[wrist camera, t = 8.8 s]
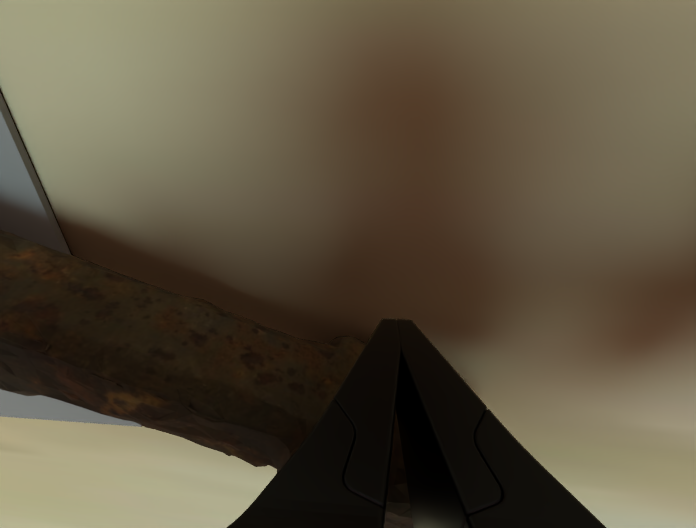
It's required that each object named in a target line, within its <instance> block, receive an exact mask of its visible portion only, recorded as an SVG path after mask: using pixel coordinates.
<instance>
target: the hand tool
mask: <svg viewBox="0 0 696 528" xmlns="http://www.w3.org/2000/svg"><path fill="white" fill-rule="evenodd" d="M365 346H366V344H365V343H363V342H361V341H360V340H358V339H357V338H354V337H350V336H346V337H338V338H335V339H334V340H333V341H331V342H330V343H329V344H321V343H318V342H313V341H308V340H303V339H298V338H294V337H292V336H290V335H287V334H285V333H282V332H279V331H276V330H272V329H269V328H266V327H264V326H262V325H260V324H258V323H256V322H254V321H252V320H249V319H247V318H244V317H241V316H238V315H235V314H232V313H229V312H226V311H224V310H222V309H220V308H218V307H216V306H214V305H212V304H211V303H209V302H207V301H205V300H203V299H197V298H190V297H184V296H181V295H177V294H173V293H171V292H168V291H166V290H163V289H161V288H158V287H155V286H152V285H149V284H146V283H144V282H141V281H138V280H136V279H133V278H129V277H126V276H124V275H121V274H119V273H116V272H114V271H111V270H109V269H106V268H104V267H102V266H99V265H96V264H93V263H90V262H88V261H85V260H82V259H80V258H77V257H75V256H72V255H69V254H66V253H62V252H59V251H56V250H54V249H51V248H48V247H46V246H43V245H41V244H38V243H35V242H33V241H30V240H28V239H25V238H22V237H19V236H17V235H15V234H13V233H10V232H7V231H4V230H1V229H0V389H1V390H5V391H9V392H13V393H17V394H21V395H25V396H36V395H42V396H46V397H50V398H54V399H57V400H60V401H63V402H66V403H70V404H73V405H76V406H79V407H82V408H85V409H88V410H91V411H94V412H97V413H100V414H103V415H106V416H110V417H114V418H118V419H122V420H126V421H132V422H136V423H138V424H140V425H142V426H145V427H147V428H152V429H156V430H159V431H163V432H166V433H169V434H173V435H176V436H180V437H183V438H185V439H187V440H190V441H192V442H194V443H197V444H199V445H202V446H205V447H208V448H211V449H214V450H217V451H220V452H223V453H225V454H226V455H228V456H231V455H232V456H236V457H238V458H240V459H242V460H244V461H246V462H248V463H250V464H251V465H253V466H255V467H260V466H267V465H270V466H272V467H274V468H276V469H277V473H278V472H279V471H280V469H281V468H282V467H283V466H284V465H285V463H286V462H287V461H288V460H289V458H290V457H291V456H292V455H293V454H294V452H295V451H296V450H297V449H298V447H299V446H300V445H301V444H302V442H303V441H304V440H305V438H306V437H307V436H308V435H309V433H310V432H311V431H312V429H313V428H314V426H315V425H316V423H317V422H318V420H319V419H320V417H321V416H322V415H323V413H324V412H325V410H326V408H327V407H328V405H329V403H330V402H331V400H333V397H334V396H335V394H336V392H337V391H338V389H339V388H340V386H341V384H342V383H343V381H344V379H345V378H346V376H347V375H348V373H349V371H350V370H351V368H352V367H353V365H354V363H355V362H356V360H357V358H358V357H359V355H360V354H361V352H362V350H363V349H364V347H365ZM384 528H414V526H413V520H412V513H411V506H410V500H409V493H408V487H407V480H406V473H405V467H404V460H403V453H402V447H401V440H400V433H399V427H398V420H397V414H395V424H394V434H393V444H392V455H391V465H390V475H389V485H388V495H387V505H386V516H385V526H384Z"/></svg>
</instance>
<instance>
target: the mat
mask: <svg viewBox="0 0 696 528" xmlns="http://www.w3.org/2000/svg"><path fill="white" fill-rule="evenodd" d="M0 229H1V230H4V231H7V232H10V233H13V234H15V235H17V236H19V237H22V238H25V239H28V240H30V241H33V242H35V243H38V244H41V245H43V246H46V247H48V248H51V249H54V250H56V251H59V252H62V253H66V254H69V255H71V253H70V251H69V249H68V246H67V244H66V242H65V239H64V237H63V235H62V233H61V230H60V228H59V226H58V223H57V221H56V219H55V217H54V214H53V212H52V210H51V207H50V205H49V203H48V200H47V198H46V196H45V194H44V191H43V189H42V187H41V184H40V182H39V180H38V178H37V175H36V173H35V171H34V168H33V166H32V164H31V161H30V159H29V157H28V155H27V152H26V150H25V148H24V145H23V143H22V141H21V139H20V136H19V134H18V132H17V129H16V127H15V125H14V123H13V120H12V118H11V116H10V113H9V111H8V109H7V106H6V104H5V102H4V100H3V97H2V95H1V93H0ZM0 416H2V417H16V418H30V419H43V420H57V421H70V422H84V423H98V424H111V425H125V426H139V427H142V425H140V424H138V423H136V422H132V421H126V420H122V419H118V418H114V417H110V416H106V415H103V414H100V413H97V412H94V411H91V410H88V409H85V408H82V407H79V406H76V405H73V404H70V403H66V402H63V401H60V400H57V399H54V398H50V397H46V396H42V395H36V396H25V395H21V394H17V393H13V392H9V391H5V390H1V389H0Z"/></svg>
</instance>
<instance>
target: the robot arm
mask: <svg viewBox="0 0 696 528" xmlns="http://www.w3.org/2000/svg"><path fill="white" fill-rule="evenodd" d="M395 414H397V420H398V427H399V433H400V440H401V447H402V453H403V460H404V467H405V473H406V480H407V487H408V493H409V500H410V506H411V513H412V520H413V526H414V528H606V527H605V526H604V525H603V524H602V523H601V522H600V521H599V520H598V519H597V518H596V517H595V516H594V515H593V514H592V513H591V512H590V511H589V510H588V509H587V508H585V507H584V506H583V505H582V504H581V503H580V502H579V501H578V500H577V499H576V498H575V497H574V496H573V495H572V494H571V493H570V492H569V491H568V490H567V489H566V488H565V487H564V486H563V485H562V484H561V483H559V482H558V481H557V480H556V479H555V478H554V477H553V476H552V475H551V474H550V473H549V472H548V471H547V470H546V469H545V468H544V467H543V466H542V465H541V464H540V463H539V462H538V461H537V460H536V459H535V458H534V457H533V456H532V455H531V454H530V453H529V452H528V451H527V450H526V449H525V448H524V447H523V446H522V445H521V444H520V443H519V442H518V441H517V440H516V439H515V438H514V437H513V436H512V434H511V433H510V432H509V431H508V430H507V429H506V428H505V427H504V426H503V425H502V423H501V422H500V421H499V420H498V419H497V418H496V417H495V416H494V414H493V413H492V412H491V411H490V410H489V409H487V407H486V405H485V404H484V403H483V402H482V401H481V400H480V398H479V397H478V396H477V395H476V394H475V393H474V392H473V390H472V389H471V388H470V387H469V386H468V385H467V384H466V382H465V381H464V380H463V379H462V378H461V377H460V376H459V374H458V373H457V372H456V371H455V370H454V369H453V367H452V366H451V365H450V364H449V363H448V362H447V361H446V359H445V358H444V357H443V356H442V355H441V354H440V353H439V351H438V350H437V349H436V348H435V347H434V346H433V344H432V343H431V342H430V341H429V340H428V339H427V338H426V336H425V335H424V334H423V333H422V332H421V331H420V330H419V328H418V327H417V326H416V325H415V324H414V323H413V321H411V320H408V319H397V320H396V319H385V318H384V319H382V320H381V321H380V323H379V325H378V326H377V328H376V329H375V331H374V333H373V334H372V336H371V337H370V339H369V341H368V342H367V344H366V346H365V347H364V349H363V350H362V352H361V354H360V355H359V357H358V358H357V360H356V362H355V363H354V365H353V367H352V368H351V370H350V371H349V373H348V375H347V376H346V378H345V379H344V381H343V383H342V384H341V386H340V388H339V389H338V391H337V392H336V394H335V396H334V397H333V400H331V402H330V403H329V405H328V407H327V408H326V410H325V412H324V413H323V415H322V416H321V417H320V419H319V420H318V422H317V423H316V425H315V426H314V428H313V429H312V431H311V432H310V433H309V435H308V436H307V437H306V438H305V440H304V441H303V442H302V444H301V445H300V446H299V447H298V449H297V450H296V451H295V452H294V454H293V455H292V456H291V457H290V458H289V460H288V461H287V462H286V463H285V465H284V466H283V467H282V468H281V469H280V471H279V472H278V473H277V474H276V475H275V477H274V478H273V479H272V480H271V482H270V483H269V484H268V485H267V486H266V488H265V489H264V490H263V491H262V492H261V494H260V495H259V496H258V497H257V498H256V500H255V501H254V502H253V503H252V504H251V505H250V507H249V508H248V509H247V510H246V511H245V512H244V513H243V514H242V515H241V516H240V517H239V518H238V519H236V520H235V521H234V522H233V523H232V524H231V525H229V526H228V527H227V528H384V526H385V516H386V505H387V495H388V485H389V475H390V465H391V455H392V444H393V434H394V424H395Z"/></svg>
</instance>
